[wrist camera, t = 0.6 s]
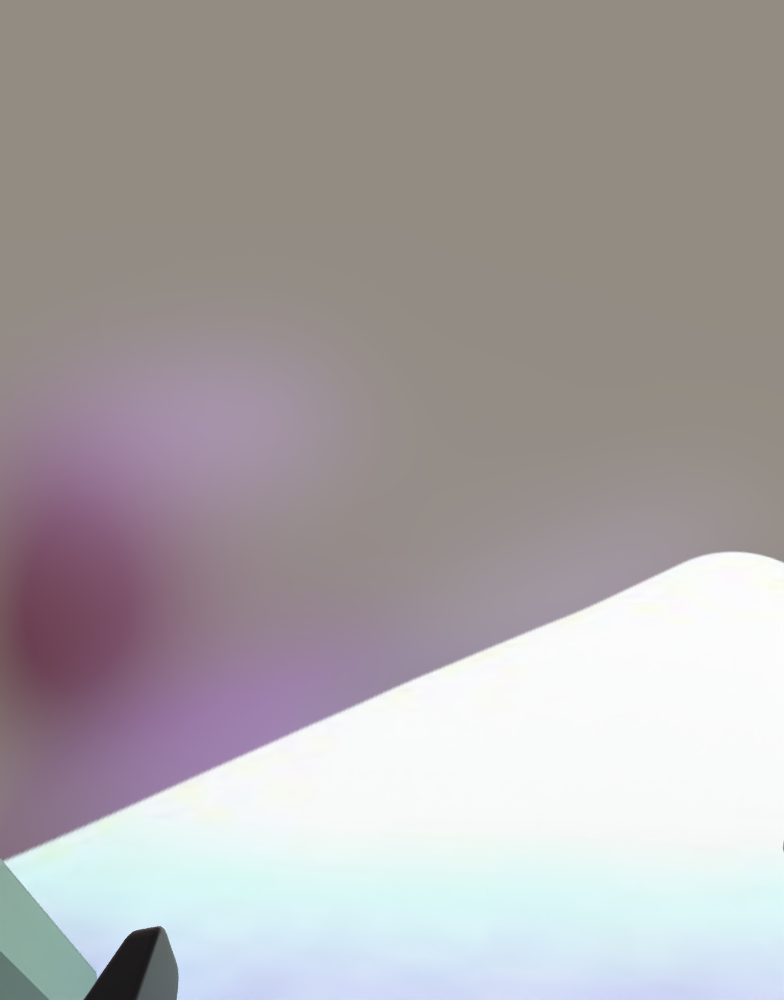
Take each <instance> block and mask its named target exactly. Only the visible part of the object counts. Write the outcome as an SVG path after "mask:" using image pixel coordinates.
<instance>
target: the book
mask: <svg viewBox="0 0 784 1000" xmlns="http://www.w3.org/2000/svg"><path fill="white" fill-rule="evenodd" d="M96 981H97V976H96V972H95V970H94V969H93V968H92V967H91V966H90V964H89V963H88V962H87V961H86V960H85V958H84V957H83V956H82V955H81V954H80V953H79V951H78V950H77V949H76V948H75V947H74V945H73V944H72V943H71V942H70V941H69V939H68V938H67V937H66V936H65V935H64V934H63V932H62V931H61V930H60V929H59V928H58V926H57V925H56V924H55V923H54V922H53V920H52V919H51V918H50V917H49V916H48V914H47V913H46V912H45V911H44V910H43V909H42V907H41V906H40V905H39V904H38V903H37V901H36V900H35V899H34V898H33V897H32V895H31V894H30V893H29V892H28V891H27V890H26V888H25V887H24V886H23V885H22V884H21V882H20V881H19V880H18V879H17V878H16V876H15V875H14V874H13V873H12V872H11V871H10V869H9V868H8V867H7V866H6V865H5V863H4V862H3V861H2V860H1V859H0V1000H84V998H85V997H86V995H87V994H88V992H89V991H90V990H91V988H92V987H93V985H94V984H95V982H96Z"/></svg>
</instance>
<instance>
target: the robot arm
mask: <svg viewBox="0 0 784 1000" xmlns="http://www.w3.org/2000/svg"><path fill="white" fill-rule="evenodd" d="M783 850H784V843H783ZM177 991H178V967H177V963H176V960H175V957H174V954H173V951H172V948H171V945H170V942H169V939H168V937H167V934H166V931H165V929H164V928H162V927H161V926H157V927H151V928H146V929H141V930H136V931H134V932H132V933H131V934H130V935H129V936H128V937H127V938H126V939H125V940H124V942H123V943H122V945H121V946H120V948H119V949H118V950H117V952H116V953H115V955H114V956H113V958H112V959H111V961H110V962H109V964H108V965H107V966H106V968H105V969H104V971H103V972H102V974H101V975H100V977H99V978H98V979H97V981H96V982H95V984H94V985H93V987H92V988H91V990H90V991H89V992H88V994H87V995H86V997H85V998H84V1000H177Z"/></svg>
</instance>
